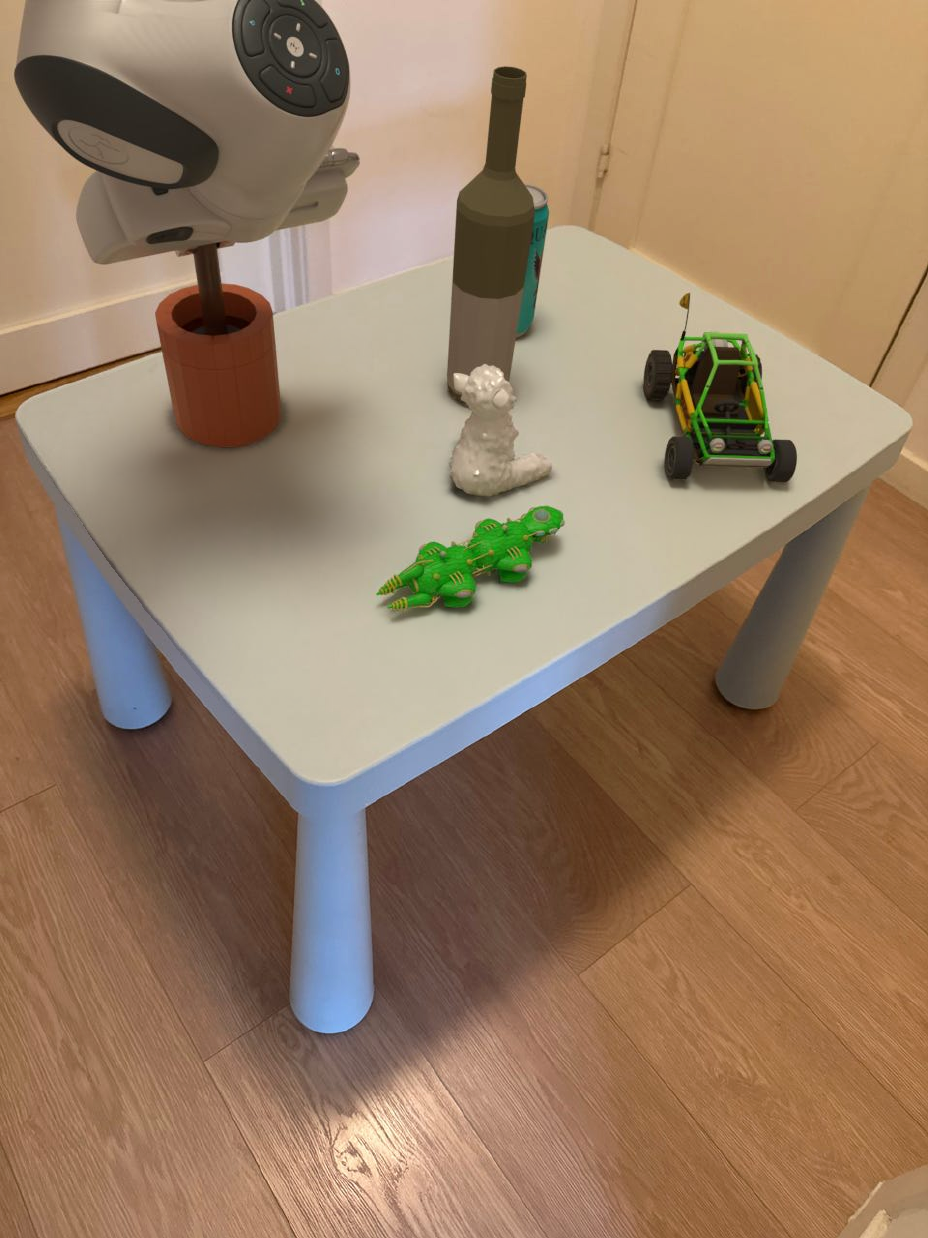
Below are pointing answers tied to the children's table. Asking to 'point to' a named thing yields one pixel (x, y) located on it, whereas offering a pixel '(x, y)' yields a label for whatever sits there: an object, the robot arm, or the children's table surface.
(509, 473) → the sitting furry creature
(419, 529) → the children's table surface
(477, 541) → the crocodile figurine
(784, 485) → the children's table surface
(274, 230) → the robot arm
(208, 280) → the rod on round base
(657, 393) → the motor vehicle
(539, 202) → the beverage can
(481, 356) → the bottle
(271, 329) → the terracotta flower pot
